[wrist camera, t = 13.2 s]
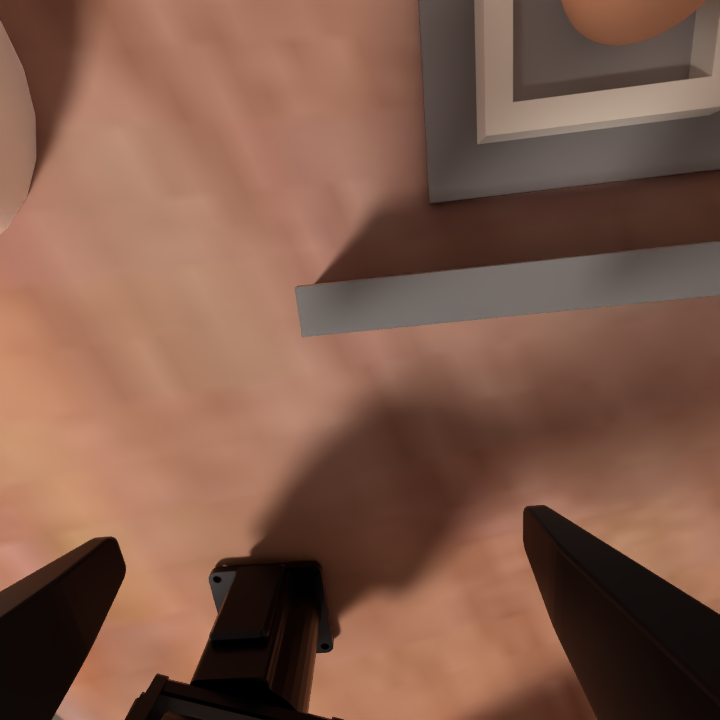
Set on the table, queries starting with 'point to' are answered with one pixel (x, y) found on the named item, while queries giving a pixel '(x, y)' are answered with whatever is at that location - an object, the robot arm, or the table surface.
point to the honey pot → (14, 133)
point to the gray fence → (511, 289)
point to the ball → (626, 18)
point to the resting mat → (561, 99)
